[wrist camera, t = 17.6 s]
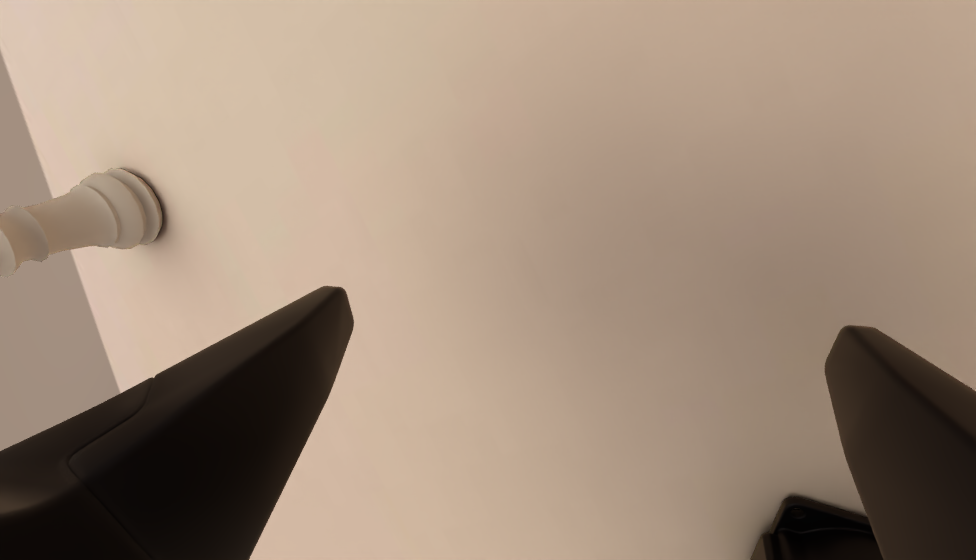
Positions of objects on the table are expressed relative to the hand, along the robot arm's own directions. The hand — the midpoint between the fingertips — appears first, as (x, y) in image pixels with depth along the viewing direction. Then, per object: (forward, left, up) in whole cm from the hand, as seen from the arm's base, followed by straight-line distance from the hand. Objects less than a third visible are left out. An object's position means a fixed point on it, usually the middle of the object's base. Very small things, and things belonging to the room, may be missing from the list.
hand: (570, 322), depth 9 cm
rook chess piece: (+27, +5, -11) cm, 29 cm away
